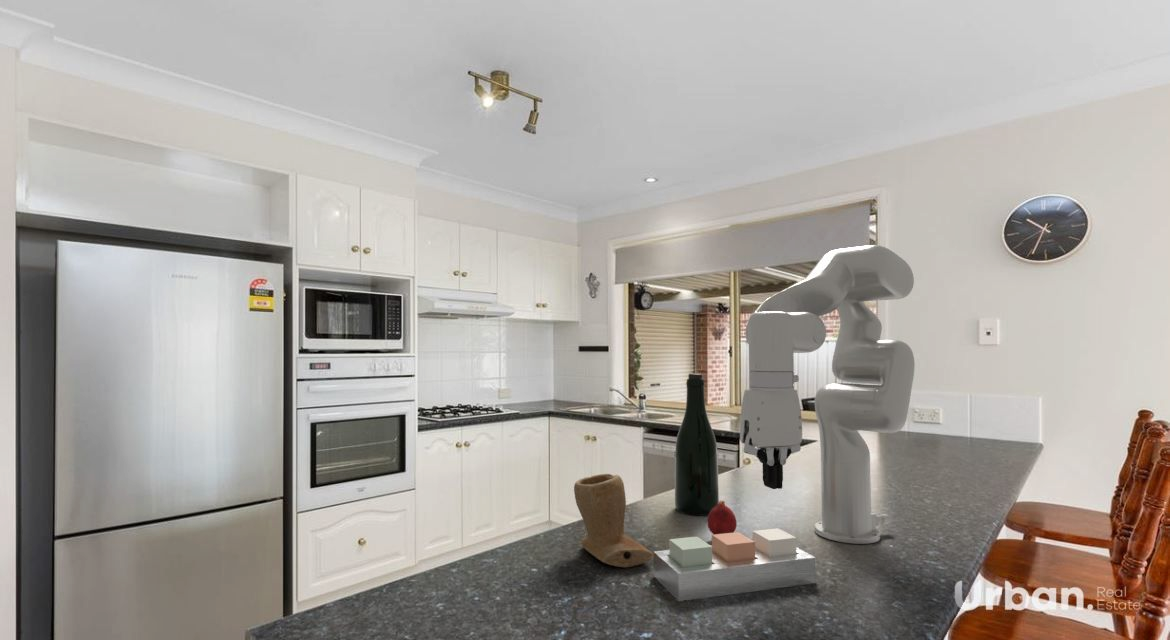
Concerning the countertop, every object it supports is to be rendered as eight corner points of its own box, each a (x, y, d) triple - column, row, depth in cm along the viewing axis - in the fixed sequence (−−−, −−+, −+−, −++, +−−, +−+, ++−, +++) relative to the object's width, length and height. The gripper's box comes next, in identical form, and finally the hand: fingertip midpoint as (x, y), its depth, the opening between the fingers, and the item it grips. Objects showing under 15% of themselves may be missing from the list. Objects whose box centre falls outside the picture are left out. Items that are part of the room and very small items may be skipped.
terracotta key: (738, 549, 99) (738, 532, 99) (755, 560, 94) (755, 541, 94) (711, 552, 98) (711, 534, 98) (727, 563, 93) (727, 544, 93)
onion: (737, 546, 112) (737, 505, 112) (707, 544, 113) (707, 503, 113) (735, 536, 118) (735, 497, 118) (707, 534, 119) (707, 496, 119)
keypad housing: (779, 561, 104) (779, 538, 104) (815, 582, 94) (815, 557, 95) (653, 576, 97) (653, 551, 97) (678, 601, 88) (678, 573, 88)
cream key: (778, 545, 101) (777, 528, 102) (796, 555, 96) (796, 537, 97) (752, 548, 100) (752, 530, 100) (769, 558, 95) (769, 540, 95)
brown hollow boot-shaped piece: (566, 547, 112) (566, 470, 112) (621, 540, 116) (621, 466, 116) (593, 576, 97) (593, 488, 98) (655, 567, 102) (654, 482, 102)
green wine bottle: (686, 501, 144) (685, 372, 146) (725, 508, 138) (723, 373, 140) (667, 511, 136) (666, 373, 137) (708, 519, 130) (706, 374, 131)
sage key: (697, 554, 97) (697, 536, 97) (712, 565, 92) (711, 546, 92) (669, 557, 96) (669, 539, 96) (682, 568, 91) (682, 549, 91)
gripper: (794, 379, 105) (796, 479, 104) (722, 381, 101) (723, 484, 100) (821, 382, 98) (823, 489, 97) (745, 383, 94) (746, 495, 93)
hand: (772, 486), depth 99 cm, fingers closed
